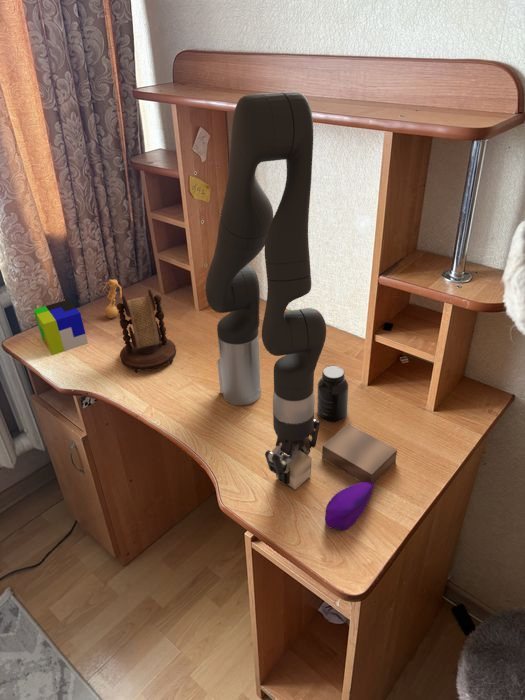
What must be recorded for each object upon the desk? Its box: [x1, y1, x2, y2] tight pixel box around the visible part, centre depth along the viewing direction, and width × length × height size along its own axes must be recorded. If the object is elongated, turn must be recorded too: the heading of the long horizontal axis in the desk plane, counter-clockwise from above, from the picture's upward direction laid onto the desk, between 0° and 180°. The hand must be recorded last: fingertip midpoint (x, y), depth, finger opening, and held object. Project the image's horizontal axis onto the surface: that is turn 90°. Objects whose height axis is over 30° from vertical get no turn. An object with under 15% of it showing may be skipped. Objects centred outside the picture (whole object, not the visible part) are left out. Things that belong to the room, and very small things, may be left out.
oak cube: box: [275, 450, 313, 491], centre depth 106 cm, size 5×5×5 cm
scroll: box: [116, 288, 177, 374], centre depth 140 cm, size 15×15×20 cm
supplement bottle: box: [316, 365, 349, 423], centre depth 121 cm, size 7×7×12 cm
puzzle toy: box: [33, 298, 89, 356], centre depth 152 cm, size 10×10×10 cm
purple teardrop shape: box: [324, 482, 375, 531], centre depth 100 cm, size 5×5×15 cm
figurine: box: [102, 279, 123, 319], centre depth 162 cm, size 8×6×12 cm
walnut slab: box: [321, 423, 398, 485], centre depth 111 cm, size 12×9×4 cm
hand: (293, 473), depth 107 cm, fingers closed on oak cube, 5 cm apart
